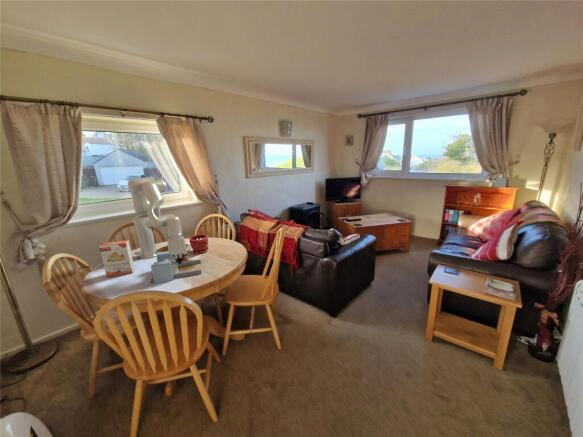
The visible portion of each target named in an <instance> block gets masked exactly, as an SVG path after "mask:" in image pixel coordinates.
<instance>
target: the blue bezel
mask: <svg viewBox="0 0 583 437" xmlns="http://www.w3.org/2000/svg"><path fill="white" fill-rule="evenodd" d="M155 257H156V260H157V261H155V262H153V263H152V264H151V265H150V268H151V273H152V278H153V279H154V283H153V284H161V283H166V282H171V281H174V279H173V273H172V267H171V262H169V260H174V261H176V258H175V257H173V256H169V252H168V250H165V251H158V252H157V253H156V256H155ZM165 259H168V260H166V261H163V260H165Z"/></svg>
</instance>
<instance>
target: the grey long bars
mask: <svg viewBox="0 0 583 437" xmlns="http://www.w3.org/2000/svg"><path fill="white" fill-rule="evenodd" d="M198 264H202V261H201V258H200V259H193V260H187V261H182V262H181V264H178V263H177V265H178V268H181V267H186V266H193V265H198ZM200 274H202V269H195V270H189V271H182V272H179V273H177V274H173V280H175V279H179V278H185V277H190V276H197V275H200ZM149 279H150V280H149V281H150V284H154V279H153V277H151V278H149Z"/></svg>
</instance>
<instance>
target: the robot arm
mask: <svg viewBox="0 0 583 437" xmlns="http://www.w3.org/2000/svg"><path fill="white" fill-rule="evenodd" d="M127 187H128V189H129V191H130V193H131V196H132V203H133V209H134V210H133V211H134V212H135V213H136V214H138V215H136V216H134V218H133V220H132V223H133V225H134V227H135V230H136V234H137V238H138V243H139V247H140V248H139V249H140V250H139V251H134V255H136V256H138V255H139V258H140V259H143V260H145V259H153V258H155V257H157V256H156V255H155V252H156V251H157V249H156V244H155V239H154V238H155V237H154V233H153V231H152V230H151V228H149V227H153V228H154V229H156V230H160V229H165V228H167V235H165V238H166V239H167V251H168V252H169V256H173V257H175V260H176V261H177V263H178V264H181V262H183V256H184V255H187V254H188V250H187V249H188V248H187V244H186V243H187V242H186V239H185V237H184V236H183V231H182V225H181V218H180V216H177V215H175V214H172V213H169V214H165V215H162V214H161V206H162V205H163V204H164V203H165V198H164V197H163V194H162V193H165V192H167V191H168V185H167V183H166V181H164V180H163V179H162V178H159V177H156V176H148V177H134V178H131V179H129V180H128V181H127Z"/></svg>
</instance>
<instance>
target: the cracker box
mask: <svg viewBox="0 0 583 437" xmlns="http://www.w3.org/2000/svg"><path fill="white" fill-rule="evenodd" d="M98 247H99V251H100V255H101V259H102V263H103V264H102V265H103V268H104V271H105V275H106V277H107V278H108V277H114V276H120V275H121V276H122V275H128V274H132V273H134V271H135V264H134V259H133V255H132V251H131V245H130V240H121V241H120V240H119V241H110V242H103V243H101V244H100V245H99V246H98Z"/></svg>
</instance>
